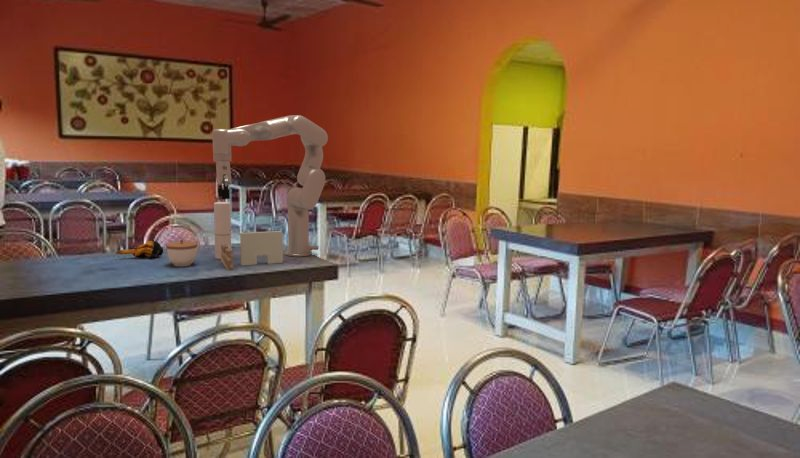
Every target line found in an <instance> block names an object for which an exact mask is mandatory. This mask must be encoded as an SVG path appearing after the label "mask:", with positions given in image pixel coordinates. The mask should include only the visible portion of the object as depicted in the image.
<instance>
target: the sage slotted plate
mask: <svg viewBox="0 0 800 458" xmlns="http://www.w3.org/2000/svg"><path fill="white" fill-rule="evenodd" d="M283 237H284V236H283V231H282V230H276V231H275V230H273V231H271V230H270V231H252V232H251V231H250V232H239V238H240V266H242V267H243V266H254V265H256V266H257V265H258V257H257V256H266V263H267V264H268V265H269V264H281V263H282V264H283V261H284V259H283V258H284V257H283V255H284V254H283V251H284V250H283V248H284V247H283V246H284V245H283V243H284V242H283Z"/></svg>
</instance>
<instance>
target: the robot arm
mask: <svg viewBox="0 0 800 458" xmlns="http://www.w3.org/2000/svg"><path fill="white" fill-rule="evenodd" d="M211 132H212V133H211V134H212V155H213V156H212V157H213V158H212V160H213V162H215V167H216V182H217V184H218V185H217V194H218V195H217V196H218V197H221V199H222V200H230V198H231V197H230V196H231V195H230V192H231V191H230V186H231V185H232V184H233V183H232V173H231V170H232V169H231V163H230V162H232V146H233V147H235V146H236V147H244V146H247V145H248V144H249V143H250V142H254V141H271V140H275V139H278V138H281V137H282V138H283V137H288V136H291V135H299V136H300V140H301V142H302V145H303V148H304V149H305V154H304V158H303V161H302V162H301V165H300V167H299V170H298V172H297V173H298V174H297V176H296V180H297V183H298V184H299V185H301V186H302V187H293V188H291V189H289V191H288V192H287V195H286V197H285V198H286V199H285V200H286V207H287V217H288V218H287V220H288V221H287V223H288V224H287V226H288V227H287V228H288V229H287V236H288V237H287V238H288V240H287V244H288V245H287V246H288V247H287V248H288V249H287V250H286V251H285V252H284V254H285V256H288V257H297V258H298V257H300V258H301V257H309V256H311V255H312V254H313V252H312V251H317V250H319V245H311V244H310V243H309V236H310V235H309V234H310V233H309V231H310V230H309V228H310V226H309V225H310V224H309V222H310V221H309V220H310V217H309V211H310V210H313V209H314V208H315V207H316V205H317V204H318V203H319V199H320V197H321V194H322V191H323V189H324V186H325V185H326V184H325V183H326V174H325V172H324V171H323V170H322V169H321V167H322V164H323V160H324V151H323V147H324V146H326V144H327V143H328V140H329V136H328V133H327V132H326V130H325V129H324V128H322V126H319V125H318V124H316V123H315V122H313V121H311V120H310V119H309V118H307V117H305V116H303V115H300V114H296V115H295V114H293V115H292V114H291V115H286V116H281V117H277V118H273V119H268V120H264V121H260V122H257V123H252V124H246V125H241V126H238V127H237V126H236V127H233V128H230V129H227V128H215V129H212V131H211Z"/></svg>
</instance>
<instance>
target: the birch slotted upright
mask: <svg viewBox="0 0 800 458" xmlns="http://www.w3.org/2000/svg"><path fill="white" fill-rule="evenodd" d="M220 260H221V261H220V262H221V264H222V265H223V266H224V267H225V269H227V270H228V271H230V270H234V253H233V250H232V248H231V249H228V246H227V245H221V259H220Z"/></svg>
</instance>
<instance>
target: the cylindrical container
mask: <svg viewBox="0 0 800 458" xmlns="http://www.w3.org/2000/svg"><path fill="white" fill-rule="evenodd" d="M231 215H232V214H231V202H229V201H215V202H214V203H213V217H214V218H213V220H214V221H213V222H214V224H213V225H214V258H215V259H218V260H219V259H220V260H221V245H227V246H228V249H231V250H232V225H231V224H232V223H231V222H232V219H231Z"/></svg>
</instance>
